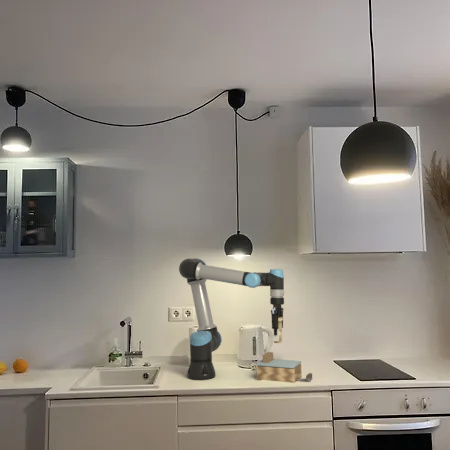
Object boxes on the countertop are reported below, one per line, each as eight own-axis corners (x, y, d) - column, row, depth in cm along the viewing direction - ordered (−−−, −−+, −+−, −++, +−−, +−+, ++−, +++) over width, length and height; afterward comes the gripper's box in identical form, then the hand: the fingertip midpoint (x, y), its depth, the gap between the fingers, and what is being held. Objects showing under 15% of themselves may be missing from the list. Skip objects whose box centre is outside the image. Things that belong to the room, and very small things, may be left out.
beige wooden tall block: (272, 342, 242) (272, 317, 243) (275, 341, 246) (275, 316, 247) (280, 343, 240) (279, 318, 241) (283, 342, 244) (282, 317, 245)
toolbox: (257, 380, 230) (256, 366, 231) (265, 374, 242) (265, 361, 243) (307, 384, 219) (306, 370, 220) (314, 378, 231) (313, 364, 231)
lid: (256, 365, 231) (256, 355, 231) (265, 360, 243) (265, 350, 243) (293, 368, 222) (293, 358, 223) (301, 362, 234) (300, 353, 235)
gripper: (278, 298, 236) (278, 343, 234) (288, 296, 251) (289, 338, 249) (265, 298, 240) (265, 342, 238) (276, 295, 254) (276, 337, 252)
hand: (277, 340), depth 243 cm, fingers closed on beige wooden tall block, 3 cm apart
